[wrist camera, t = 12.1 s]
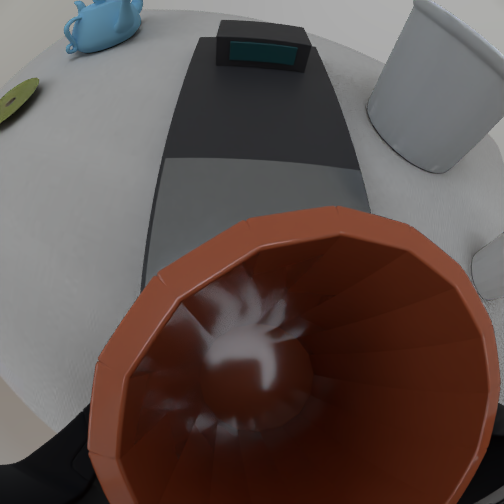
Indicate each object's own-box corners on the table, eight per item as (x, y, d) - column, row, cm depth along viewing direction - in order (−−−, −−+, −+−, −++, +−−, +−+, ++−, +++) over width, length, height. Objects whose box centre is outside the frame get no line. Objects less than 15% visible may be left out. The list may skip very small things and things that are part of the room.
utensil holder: (453, 135, 30) (511, 60, 13) (455, 201, 24) (550, 109, 8) (373, 82, 31) (416, -9, 15) (351, 131, 26) (417, -5, 9)
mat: (7, 97, 26) (4, 90, 24) (52, 77, 27) (49, 69, 25) (-20, 143, 22) (-25, 136, 20) (24, 122, 23) (19, 113, 22)
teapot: (60, 69, 28) (45, 24, 19) (84, 36, 33) (76, -1, 24) (139, 45, 30) (132, -7, 21) (150, 18, 35) (147, -22, 26)
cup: (339, 385, 14) (522, 405, 3) (242, 456, 12) (281, 617, 1) (270, 292, 16) (369, 147, 4) (167, 360, 14) (14, 368, 2)
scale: (371, 430, 16) (421, 449, 10) (149, 441, 14) (118, 475, 8) (311, 59, 31) (321, 24, 25) (200, 50, 30) (199, 13, 24)
